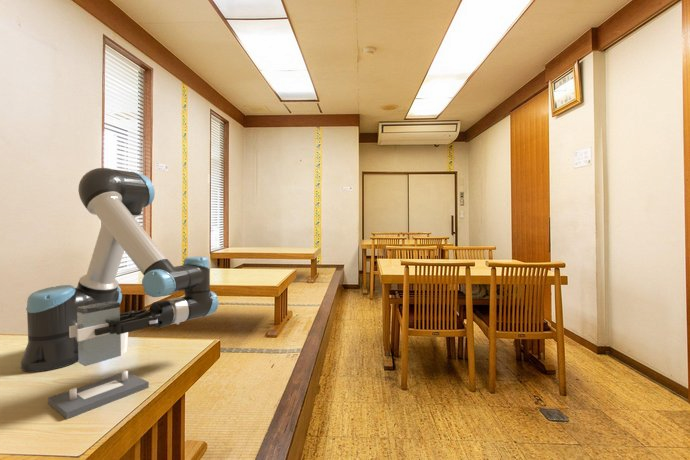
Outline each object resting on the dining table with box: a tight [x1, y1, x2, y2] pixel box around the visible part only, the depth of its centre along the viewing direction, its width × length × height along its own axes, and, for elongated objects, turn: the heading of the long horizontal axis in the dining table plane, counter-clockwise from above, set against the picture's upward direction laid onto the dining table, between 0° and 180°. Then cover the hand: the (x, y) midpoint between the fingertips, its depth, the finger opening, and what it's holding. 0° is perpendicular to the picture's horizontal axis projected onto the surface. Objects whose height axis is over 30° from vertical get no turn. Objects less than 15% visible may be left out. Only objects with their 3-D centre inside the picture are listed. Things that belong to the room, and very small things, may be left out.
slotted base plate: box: [47, 370, 150, 420], centre depth 90 cm, size 12×18×4 cm, turn 146°
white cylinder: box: [120, 332, 129, 355], centre depth 119 cm, size 7×7×7 cm
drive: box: [76, 301, 122, 367], centre depth 89 cm, size 4×8×14 cm, turn 146°
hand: (74, 333), depth 85 cm, fingers closed on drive, 4 cm apart
